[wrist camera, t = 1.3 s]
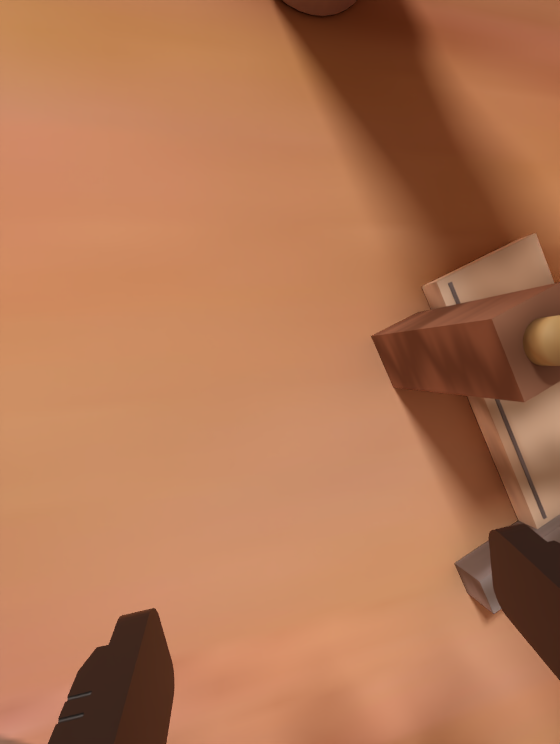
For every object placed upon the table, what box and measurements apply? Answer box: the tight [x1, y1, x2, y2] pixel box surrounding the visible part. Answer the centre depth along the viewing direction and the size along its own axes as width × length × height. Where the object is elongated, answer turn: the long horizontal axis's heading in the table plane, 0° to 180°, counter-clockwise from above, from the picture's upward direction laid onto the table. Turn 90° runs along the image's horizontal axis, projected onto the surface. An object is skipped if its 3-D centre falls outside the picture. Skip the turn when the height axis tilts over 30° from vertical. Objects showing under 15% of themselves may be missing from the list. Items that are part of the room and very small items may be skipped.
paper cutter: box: [422, 233, 560, 614], centre depth 34 cm, size 25×17×3 cm
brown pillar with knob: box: [371, 282, 560, 402], centre depth 26 cm, size 4×4×14 cm
